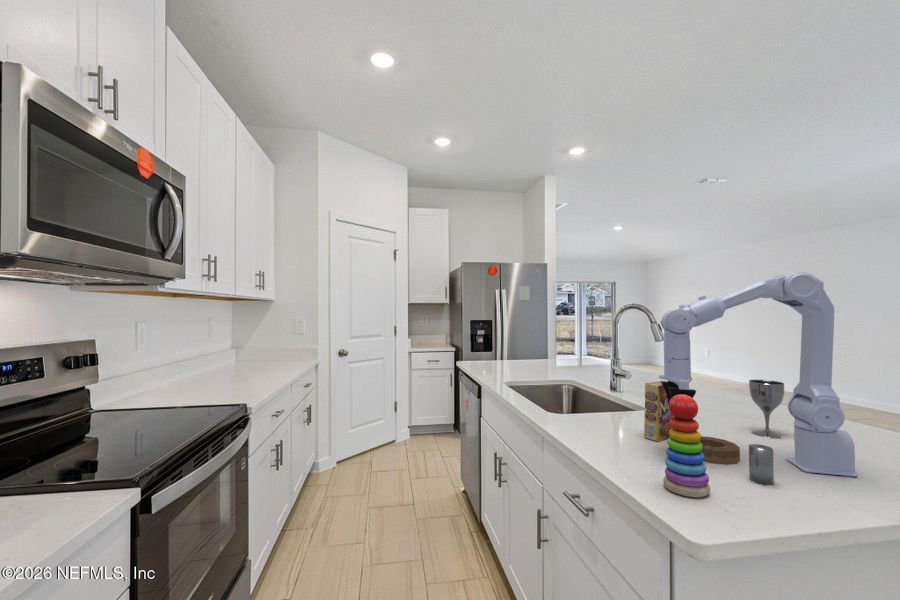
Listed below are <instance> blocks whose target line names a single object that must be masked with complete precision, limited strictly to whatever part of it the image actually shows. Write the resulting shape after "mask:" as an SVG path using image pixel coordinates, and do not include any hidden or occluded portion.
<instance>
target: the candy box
mask: <svg viewBox="0 0 900 600" xmlns="http://www.w3.org/2000/svg"><path fill="white" fill-rule="evenodd" d="M662 381H663V380H661V381H654V382H648V383H644V424H643V425H644V430H643V431H644V434H643V436H644V437H643V438H644V439H647V440H649V441H654V442H660V441H662V440H663V441H664V440H666V439H667V440H668V439H669V438H670V435H669V430H670V429H671V428H672V427H671V426H670V424H669V421H670V419H671V418H673V417H674V416H673V415H672V414H671V412H670V410H669V404H668V399H667V395H666V392H665V389H664V387H663V385H662V383H661V382H662ZM665 381H666V382H668V380H665Z"/></svg>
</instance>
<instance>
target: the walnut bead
mask: <svg viewBox="0 0 900 600" xmlns="http://www.w3.org/2000/svg"><path fill="white" fill-rule="evenodd" d="M700 442H701V444H702V450H701V452H702V453H703V454H704V461H703V462H704V463H705V462H706V463H710V464H716V465H718V464H719V465H735V464H738V463H739V462H740V461H741V449H740V448H741V447H740V446H739V445H738V444H736V443H734V442H732V441H728V440H727V439H722V438H717V437H712V436H702V435H701V440H700Z"/></svg>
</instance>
